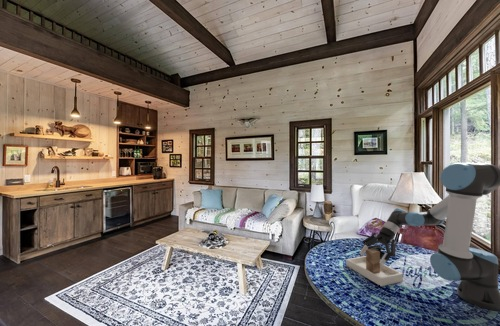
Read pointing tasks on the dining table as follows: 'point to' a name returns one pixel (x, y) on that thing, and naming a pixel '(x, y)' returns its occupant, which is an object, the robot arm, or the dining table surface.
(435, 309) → the dining table surface
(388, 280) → the sorting tray
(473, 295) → the robot arm
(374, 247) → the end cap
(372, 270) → the walnut block
